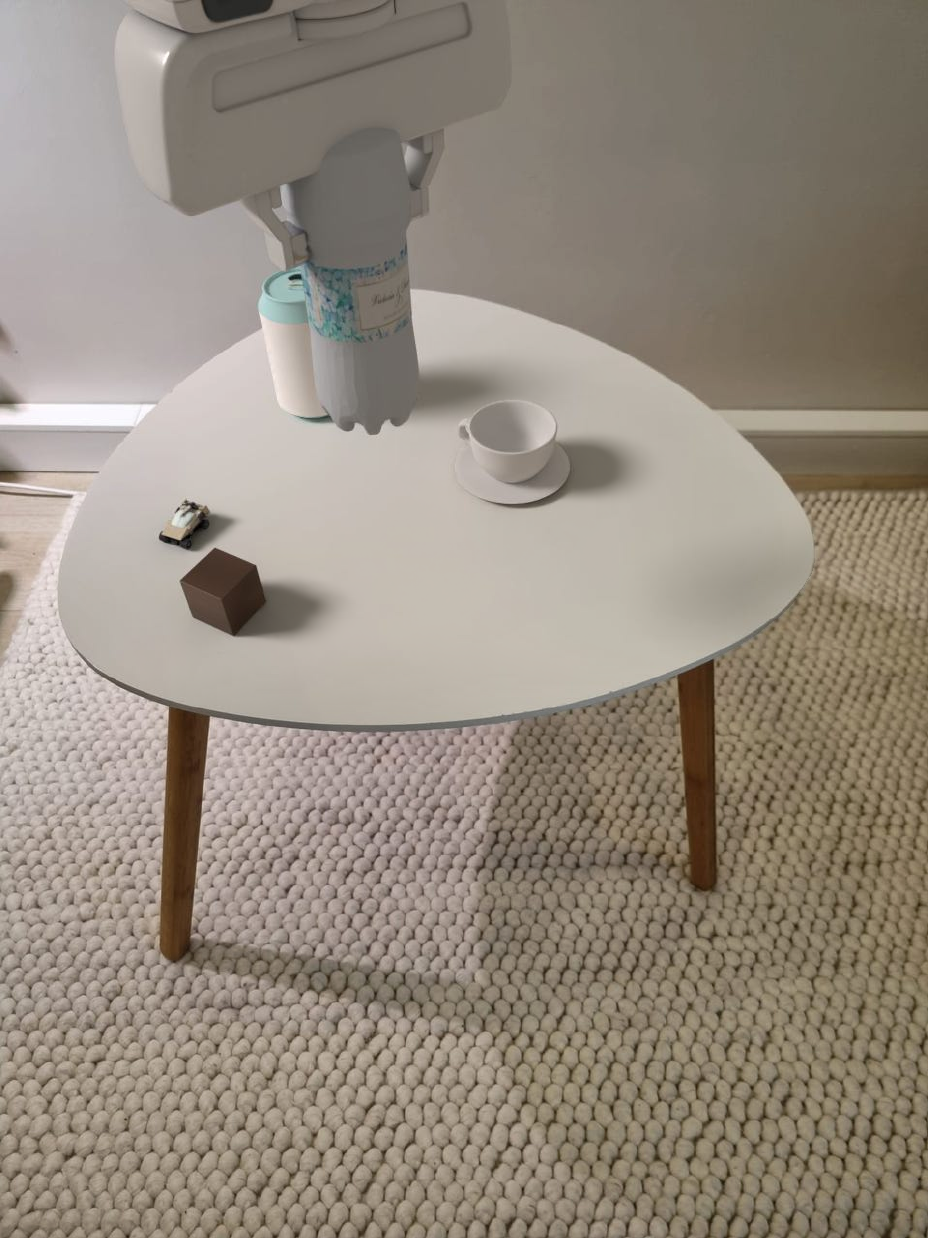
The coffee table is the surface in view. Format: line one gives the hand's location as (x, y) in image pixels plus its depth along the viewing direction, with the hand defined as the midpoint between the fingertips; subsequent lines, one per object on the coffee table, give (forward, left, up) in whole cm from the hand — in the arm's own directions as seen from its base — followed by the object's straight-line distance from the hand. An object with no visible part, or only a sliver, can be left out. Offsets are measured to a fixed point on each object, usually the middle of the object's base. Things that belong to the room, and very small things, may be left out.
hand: (351, 239), depth 51 cm
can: (+10, +26, -29) cm, 40 cm away
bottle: (0, 0, -11) cm, 11 cm away
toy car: (-8, +18, -29) cm, 35 cm away
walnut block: (-10, +8, -29) cm, 31 cm away
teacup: (+17, +6, -29) cm, 34 cm away
